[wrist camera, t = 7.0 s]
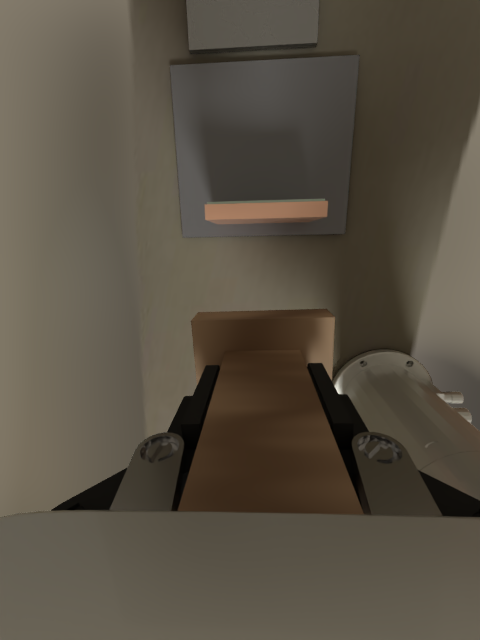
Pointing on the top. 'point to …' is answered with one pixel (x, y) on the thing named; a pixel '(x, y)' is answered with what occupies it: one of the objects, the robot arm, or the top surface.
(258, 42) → the plate
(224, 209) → the tile
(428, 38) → the top surface
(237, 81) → the mat
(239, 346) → the wooden block
